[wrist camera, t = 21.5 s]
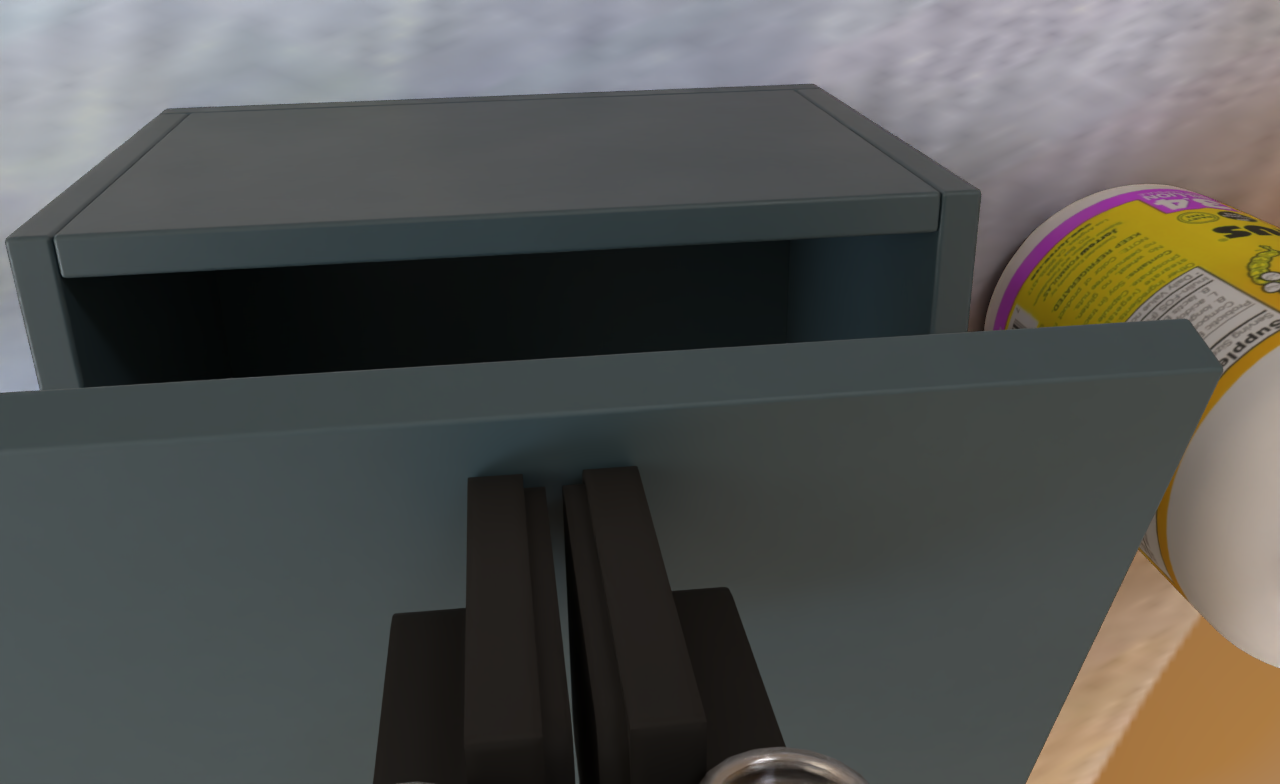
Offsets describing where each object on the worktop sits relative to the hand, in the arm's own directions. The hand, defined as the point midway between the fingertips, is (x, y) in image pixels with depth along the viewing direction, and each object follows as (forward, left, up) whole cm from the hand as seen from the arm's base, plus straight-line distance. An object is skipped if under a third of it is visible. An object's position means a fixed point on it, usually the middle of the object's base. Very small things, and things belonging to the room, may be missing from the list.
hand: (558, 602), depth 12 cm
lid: (+5, 0, -3) cm, 6 cm away
